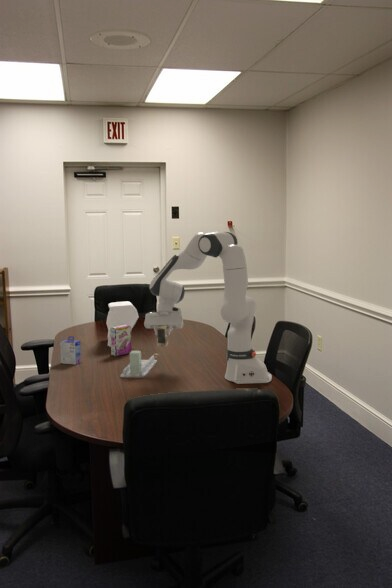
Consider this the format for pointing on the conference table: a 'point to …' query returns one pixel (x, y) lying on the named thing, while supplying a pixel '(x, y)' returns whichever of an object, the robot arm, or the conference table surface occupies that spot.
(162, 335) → the wooden block
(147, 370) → the rail
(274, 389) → the conference table surface
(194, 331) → the conference table surface
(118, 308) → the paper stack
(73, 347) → the ink cartridge box
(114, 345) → the candy bar box
